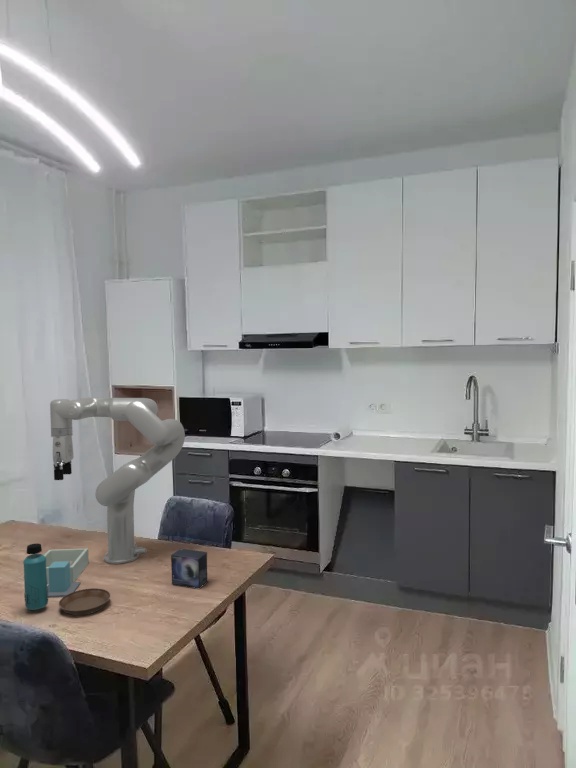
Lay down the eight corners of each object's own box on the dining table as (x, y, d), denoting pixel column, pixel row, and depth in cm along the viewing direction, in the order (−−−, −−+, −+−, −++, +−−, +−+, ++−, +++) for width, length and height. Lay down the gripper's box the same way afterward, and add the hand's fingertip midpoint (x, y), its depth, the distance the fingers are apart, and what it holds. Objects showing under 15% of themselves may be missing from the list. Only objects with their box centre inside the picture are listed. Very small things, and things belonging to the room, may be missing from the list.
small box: (170, 585, 185) (169, 554, 184) (180, 577, 191) (180, 547, 190) (198, 589, 181) (198, 558, 180) (208, 582, 187) (207, 551, 187)
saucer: (65, 623, 160) (65, 614, 159) (53, 604, 172) (53, 596, 172) (117, 609, 168) (117, 600, 168) (102, 592, 180) (102, 584, 180)
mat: (80, 583, 187) (80, 581, 187) (71, 596, 177) (71, 594, 177) (49, 584, 186) (49, 583, 186) (38, 597, 176) (38, 596, 176)
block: (70, 585, 184) (69, 561, 184) (65, 591, 179) (64, 567, 179) (54, 585, 184) (53, 562, 183) (49, 592, 179) (48, 567, 178)
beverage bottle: (53, 606, 170) (51, 542, 169) (37, 616, 164) (34, 549, 163) (36, 603, 172) (34, 540, 171) (19, 613, 166) (17, 547, 165)
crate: (88, 563, 205) (88, 548, 205) (73, 583, 187) (72, 567, 187) (49, 564, 204) (49, 549, 204) (30, 584, 186) (29, 568, 186)
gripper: (64, 435, 202) (66, 482, 203) (78, 428, 219) (79, 471, 220) (43, 435, 201) (44, 482, 202) (59, 429, 219) (60, 472, 220)
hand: (63, 477), depth 211 cm, fingers open, 9 cm apart
